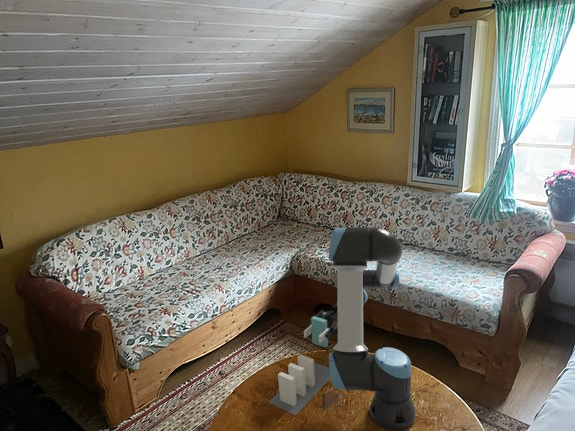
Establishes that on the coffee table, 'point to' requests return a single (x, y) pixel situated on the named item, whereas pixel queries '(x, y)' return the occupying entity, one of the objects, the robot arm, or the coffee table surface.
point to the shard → (330, 399)
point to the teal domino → (318, 330)
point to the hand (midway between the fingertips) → (312, 337)
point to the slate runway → (320, 379)
